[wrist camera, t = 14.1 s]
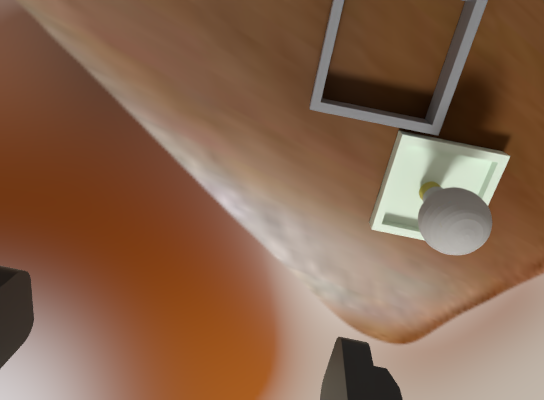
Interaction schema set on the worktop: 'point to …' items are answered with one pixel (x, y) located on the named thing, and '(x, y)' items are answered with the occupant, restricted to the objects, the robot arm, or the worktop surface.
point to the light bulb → (453, 219)
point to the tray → (431, 178)
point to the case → (444, 87)
